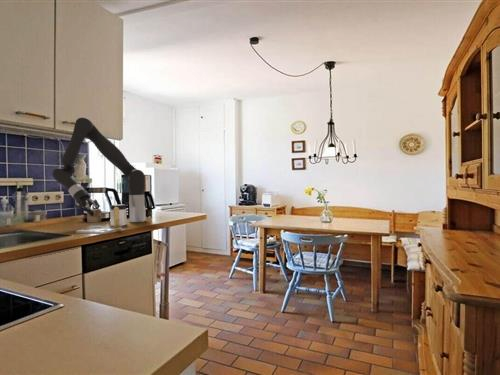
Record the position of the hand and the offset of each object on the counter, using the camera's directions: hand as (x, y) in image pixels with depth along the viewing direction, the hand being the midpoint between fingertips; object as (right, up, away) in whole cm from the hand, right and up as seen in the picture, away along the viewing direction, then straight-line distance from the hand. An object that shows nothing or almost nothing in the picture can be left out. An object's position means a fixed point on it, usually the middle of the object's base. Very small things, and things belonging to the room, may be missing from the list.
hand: (96, 214), depth 181 cm
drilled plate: (+7, -8, -16) cm, 19 cm away
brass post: (+15, -7, -9) cm, 19 cm away
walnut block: (-2, -4, +1) cm, 5 cm away
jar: (+9, -7, +9) cm, 15 cm away
